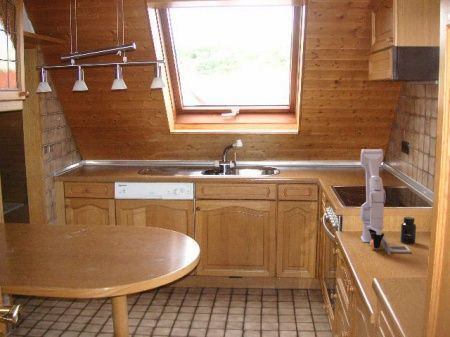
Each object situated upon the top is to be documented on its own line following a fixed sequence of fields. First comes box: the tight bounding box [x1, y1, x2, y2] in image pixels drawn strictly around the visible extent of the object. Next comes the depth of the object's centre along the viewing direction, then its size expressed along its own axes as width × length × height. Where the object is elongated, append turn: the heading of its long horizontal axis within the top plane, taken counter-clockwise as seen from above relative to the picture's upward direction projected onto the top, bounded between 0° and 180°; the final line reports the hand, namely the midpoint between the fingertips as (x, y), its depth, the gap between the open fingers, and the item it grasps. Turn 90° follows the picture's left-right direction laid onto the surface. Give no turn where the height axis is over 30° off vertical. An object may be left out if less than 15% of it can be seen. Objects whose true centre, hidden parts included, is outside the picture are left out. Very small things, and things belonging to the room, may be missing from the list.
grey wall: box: [381, 235, 392, 256], centre depth 235 cm, size 16×1×4 cm, turn 173°
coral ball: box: [369, 239, 382, 251], centre depth 236 cm, size 5×5×5 cm
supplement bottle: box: [400, 216, 417, 245], centre depth 246 cm, size 7×7×12 cm
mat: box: [390, 244, 412, 255], centre depth 235 cm, size 11×9×1 cm
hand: (375, 246), depth 236 cm, fingers closed on coral ball, 5 cm apart
